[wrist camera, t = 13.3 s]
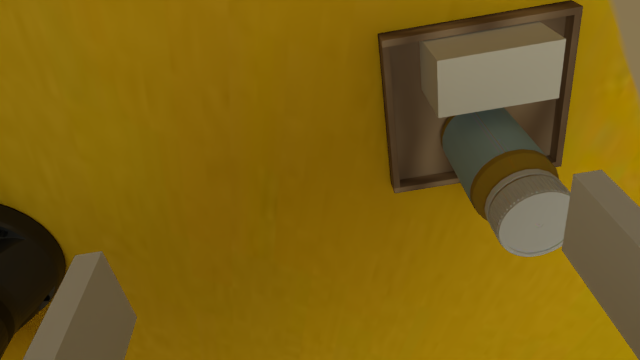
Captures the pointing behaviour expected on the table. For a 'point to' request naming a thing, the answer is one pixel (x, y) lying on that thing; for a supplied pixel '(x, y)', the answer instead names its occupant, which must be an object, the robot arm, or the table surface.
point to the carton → (492, 68)
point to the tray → (425, 127)
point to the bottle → (508, 180)
